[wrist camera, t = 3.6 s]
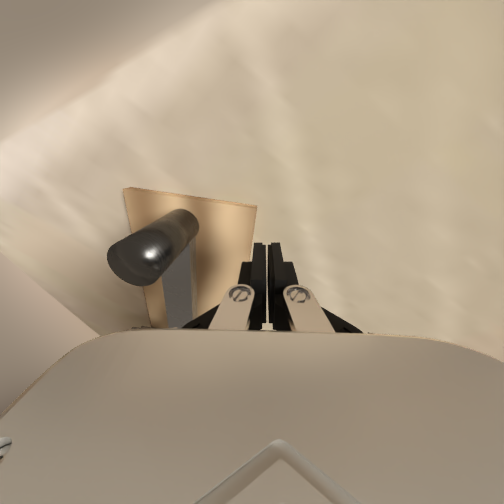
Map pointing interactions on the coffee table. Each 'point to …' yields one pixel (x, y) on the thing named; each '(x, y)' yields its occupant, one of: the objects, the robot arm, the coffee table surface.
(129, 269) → the lever
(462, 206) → the coffee table surface
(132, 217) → the tan wooden panel
